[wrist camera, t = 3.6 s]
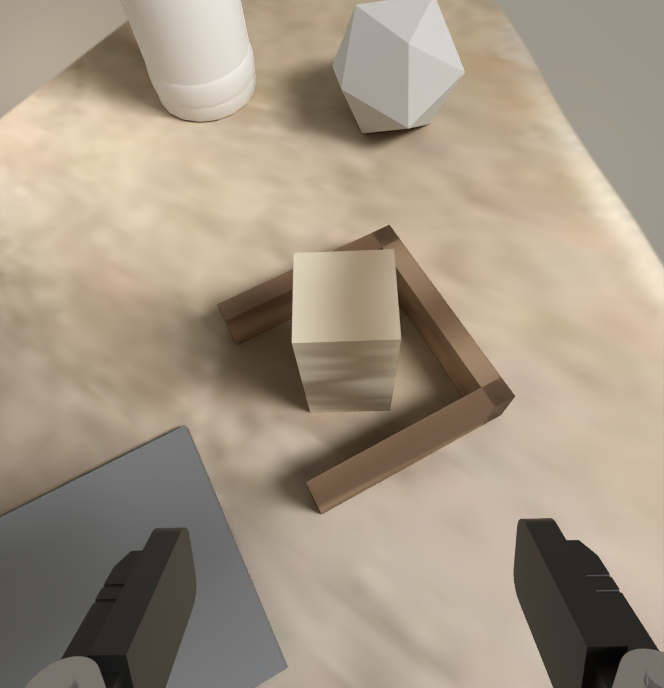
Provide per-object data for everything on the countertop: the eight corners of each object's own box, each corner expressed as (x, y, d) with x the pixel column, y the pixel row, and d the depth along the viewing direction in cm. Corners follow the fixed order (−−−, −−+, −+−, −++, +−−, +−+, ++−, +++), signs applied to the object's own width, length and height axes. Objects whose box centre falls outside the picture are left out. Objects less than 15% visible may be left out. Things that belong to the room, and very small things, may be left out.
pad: (-43, 543, 28) (-51, 542, 27) (188, 428, 30) (184, 425, 29) (11, 832, 22) (3, 838, 22) (287, 666, 24) (286, 668, 24)
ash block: (310, 412, 30) (291, 343, 22) (310, 341, 32) (293, 253, 24) (389, 410, 30) (401, 339, 22) (385, 338, 32) (394, 249, 24)
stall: (229, 329, 32) (217, 304, 30) (386, 254, 34) (389, 224, 32) (321, 514, 27) (317, 505, 25) (500, 414, 29) (515, 396, 27)
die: (440, 78, 42) (374, -39, 37) (506, 89, 35) (438, -53, 30) (366, 152, 43) (290, 49, 37) (417, 177, 36) (333, 56, 30)
